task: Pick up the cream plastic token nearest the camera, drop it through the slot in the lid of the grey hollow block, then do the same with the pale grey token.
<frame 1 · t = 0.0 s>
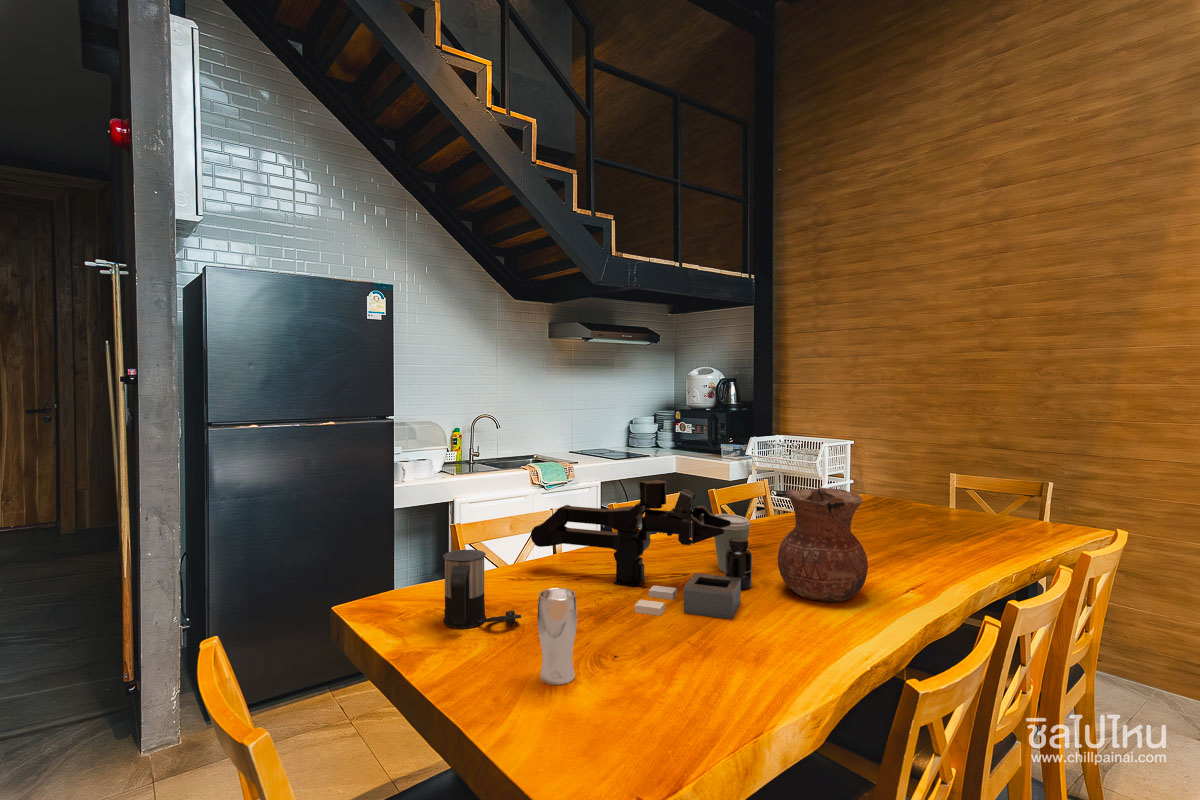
hand: (727, 527, 156), 17 cm above the table, tool horizontal, fingers open, 9 cm apart
grey hollow block: (712, 607, 147), on the table
supplement bottle: (738, 586, 163), on the table
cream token: (649, 612, 145), on the table
disposable coffee cup: (731, 570, 176), on the table
beer glass: (557, 678, 113), on the table
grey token: (662, 597, 156), on the table
milk frother: (482, 624, 138), on the table
brown clay vase: (821, 593, 157), on the table
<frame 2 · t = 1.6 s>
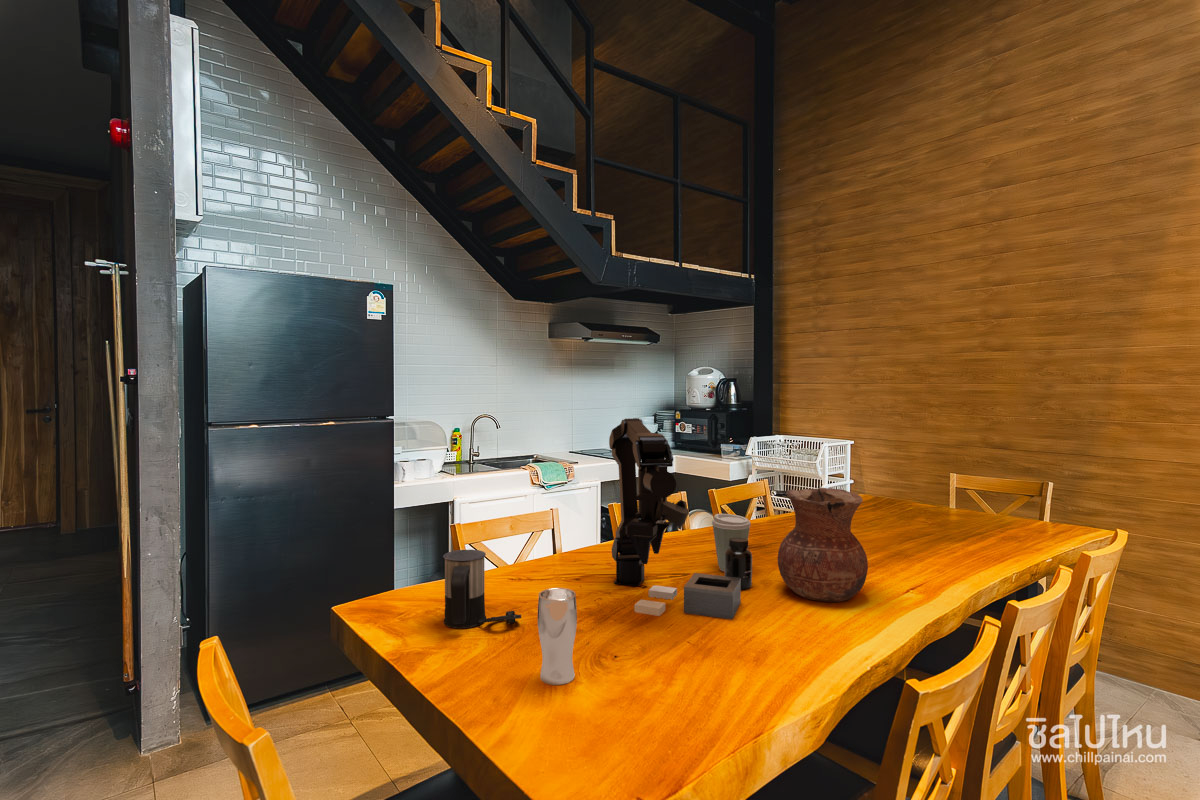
hand: (650, 558, 145), 12 cm above the table, tool pointing down, fingers open, 9 cm apart
nothing on the table moved.
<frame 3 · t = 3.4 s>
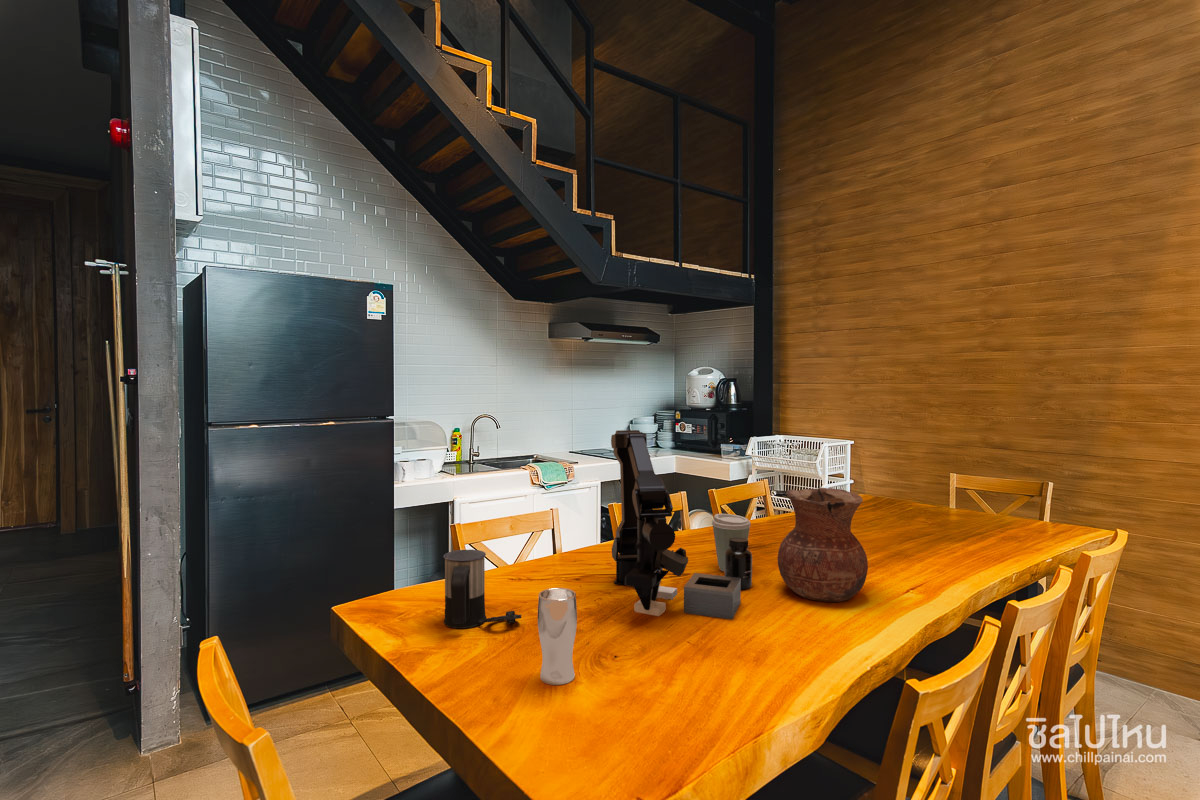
hand: (650, 606, 145), 1 cm above the table, tool pointing down, fingers closed on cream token, 4 cm apart
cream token: (650, 612, 145), on the table, touching gripper
everything else where it was.
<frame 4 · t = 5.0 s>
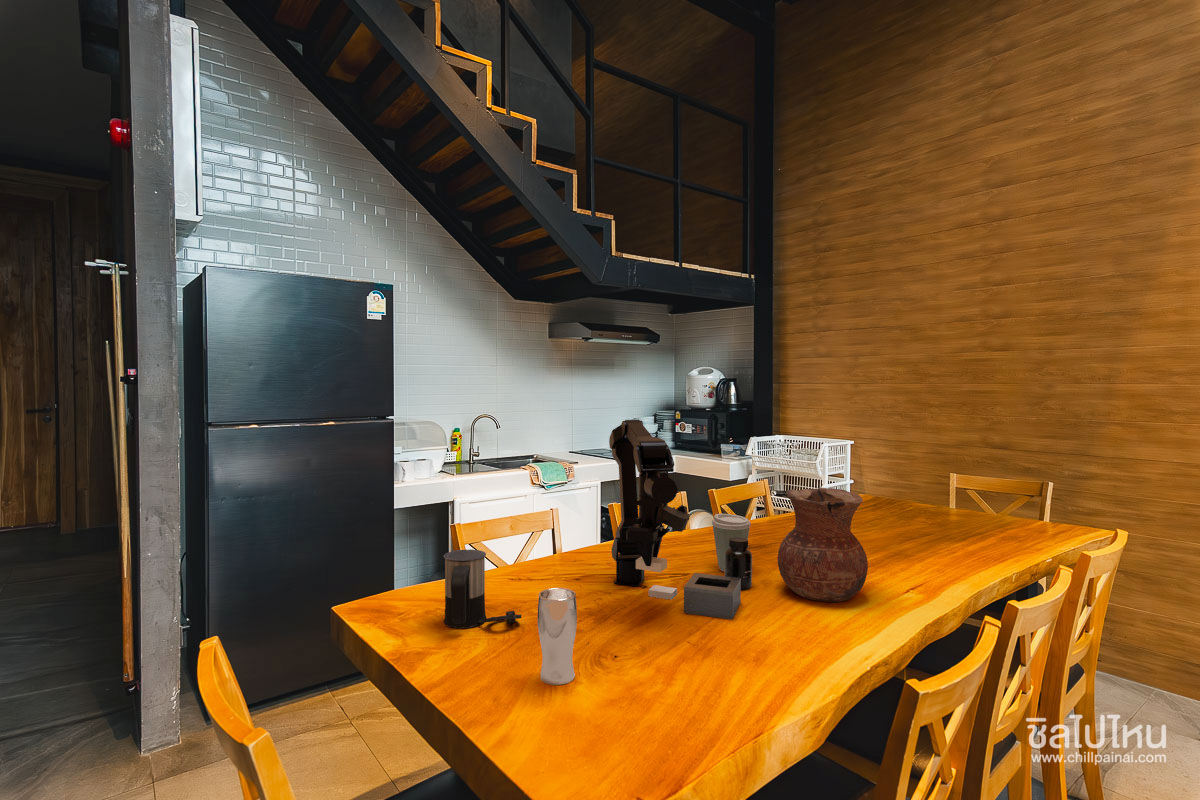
hand: (651, 563, 145), 11 cm above the table, tool pointing down, fingers closed on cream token, 4 cm apart
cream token: (651, 568, 145), point 10 cm above the table, touching gripper
everything else where it was.
when the fingers open (8 cm above the table, at t = 6.4 s): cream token drops 7 cm, resting on grey hollow block.
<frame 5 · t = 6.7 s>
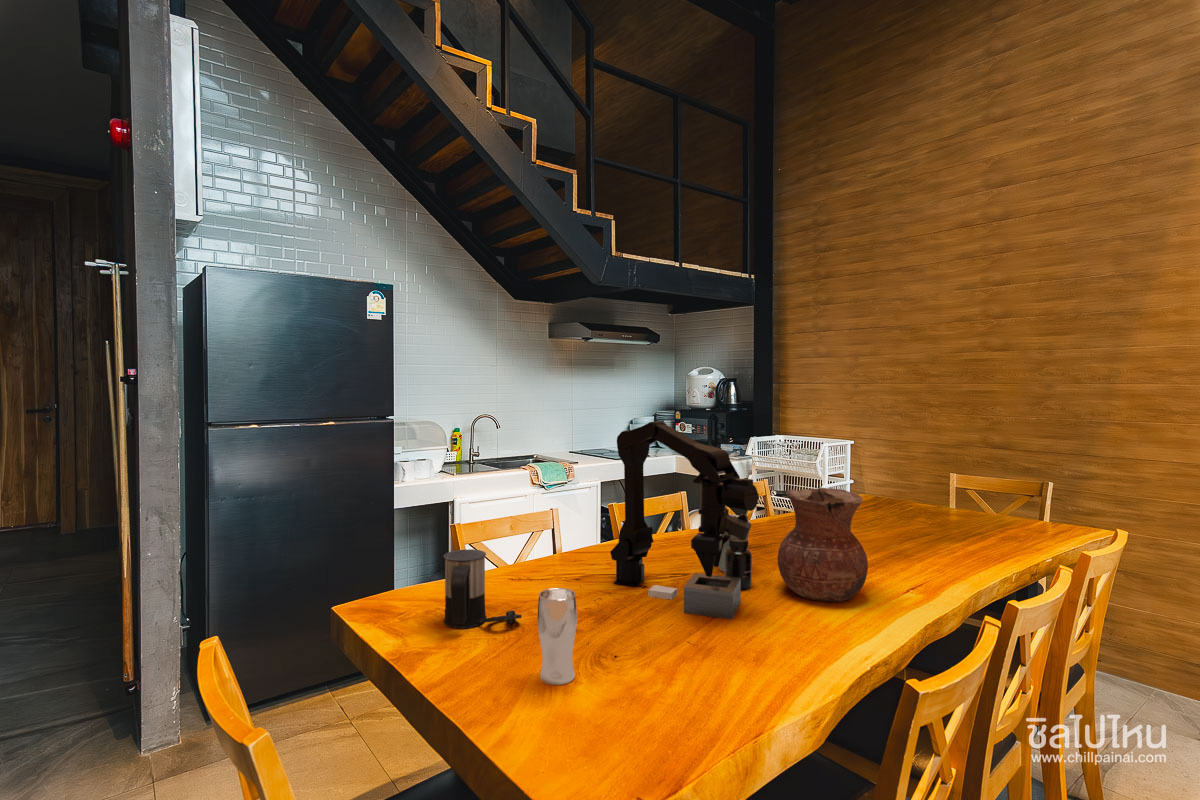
hand: (712, 571, 147), 8 cm above the table, tool pointing down, fingers open, 8 cm apart
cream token: (712, 604, 147), point 1 cm above the table, touching grey hollow block
everything else where it was.
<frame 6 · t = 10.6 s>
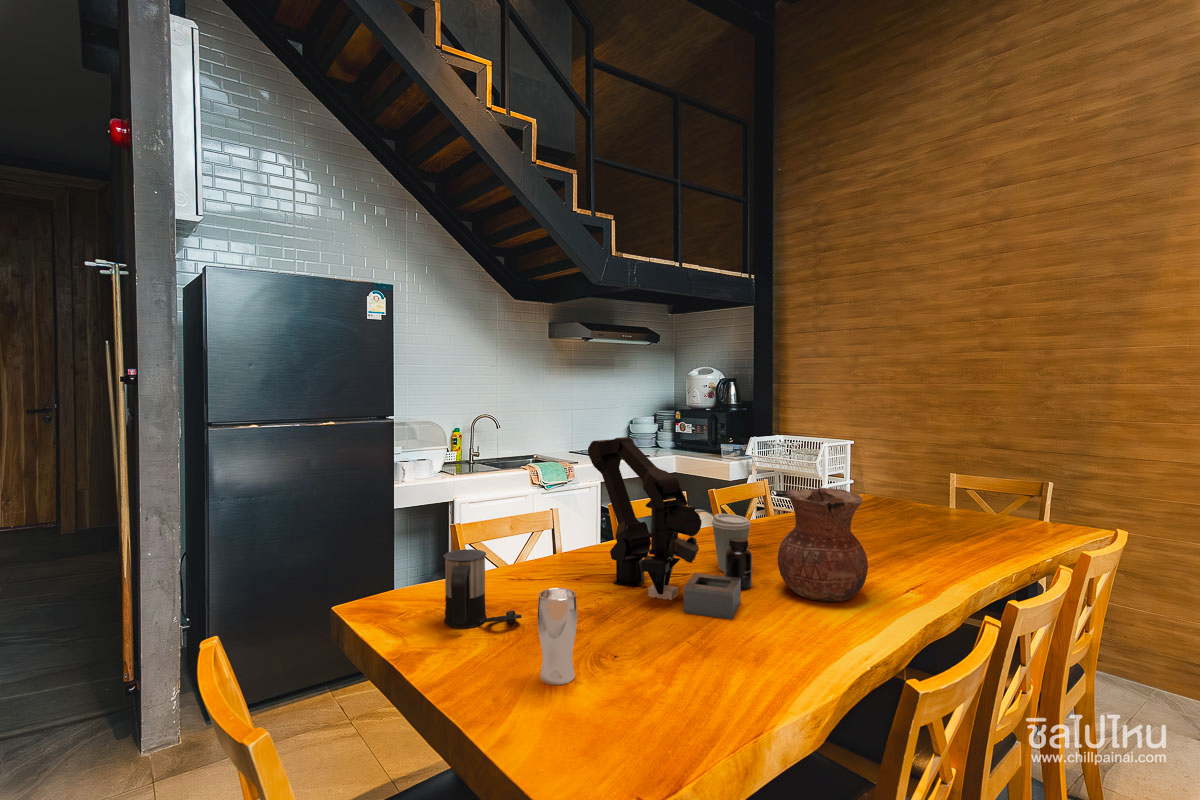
hand: (662, 591, 156), 1 cm above the table, tool pointing down, fingers closed on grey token, 4 cm apart
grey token: (662, 595, 156), on the table, touching gripper
everything else where it was.
when the fingers open (9 cm above the table, at t = 13.1 s): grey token drops 5 cm, resting on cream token.
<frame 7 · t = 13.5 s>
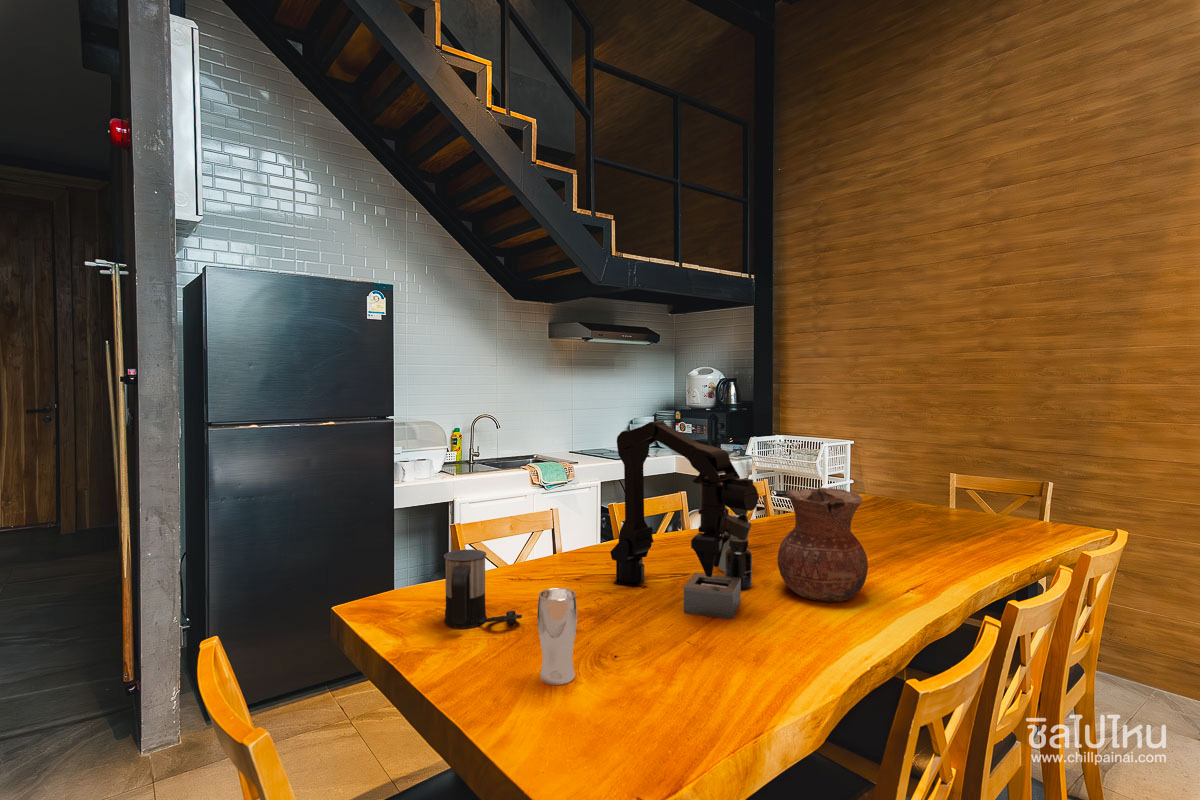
hand: (712, 571, 147), 8 cm above the table, tool pointing down, fingers open, 8 cm apart
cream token: (712, 604, 147), point 1 cm above the table, touching grey hollow block, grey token
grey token: (712, 596, 147), point 3 cm above the table, touching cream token
everything else where it was.
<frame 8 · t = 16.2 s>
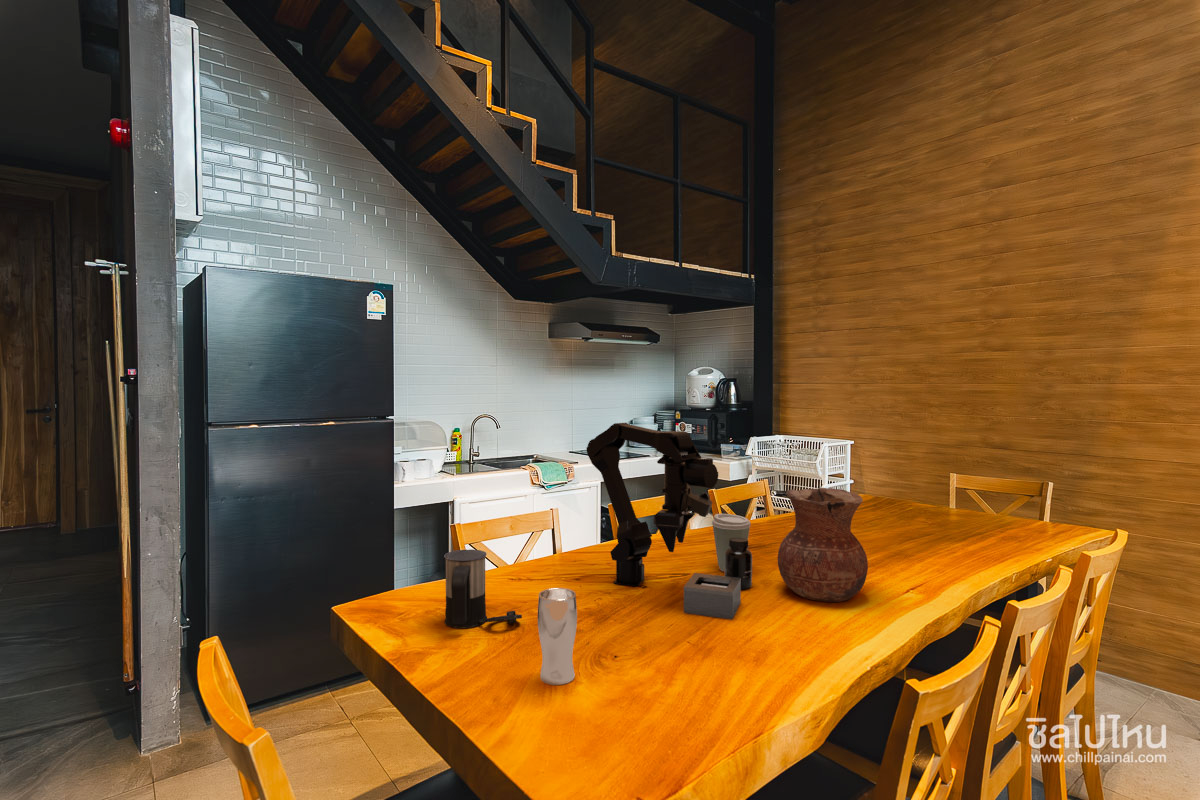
hand: (676, 547, 155), 12 cm above the table, tool pointing down, fingers open, 9 cm apart
nothing on the table moved.
at the end: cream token inside the target area on the grey hollow block (0.0 cm from its centre), point 0.8 cm above the grey hollow block's base; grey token inside the target area on the grey hollow block (0.0 cm from its centre), point 2.8 cm above the grey hollow block's base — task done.
